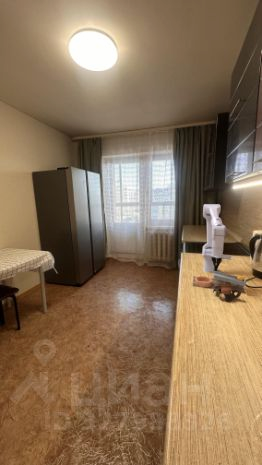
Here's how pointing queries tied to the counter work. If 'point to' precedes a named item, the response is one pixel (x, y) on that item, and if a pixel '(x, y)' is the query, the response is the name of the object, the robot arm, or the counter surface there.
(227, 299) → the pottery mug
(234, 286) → the base
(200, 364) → the counter surface
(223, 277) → the lever
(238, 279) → the ball
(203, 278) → the orange bowl
